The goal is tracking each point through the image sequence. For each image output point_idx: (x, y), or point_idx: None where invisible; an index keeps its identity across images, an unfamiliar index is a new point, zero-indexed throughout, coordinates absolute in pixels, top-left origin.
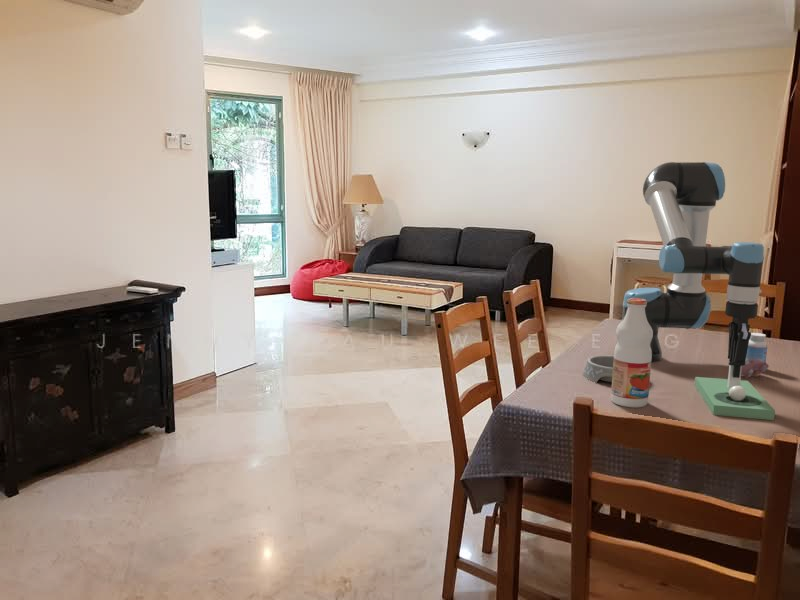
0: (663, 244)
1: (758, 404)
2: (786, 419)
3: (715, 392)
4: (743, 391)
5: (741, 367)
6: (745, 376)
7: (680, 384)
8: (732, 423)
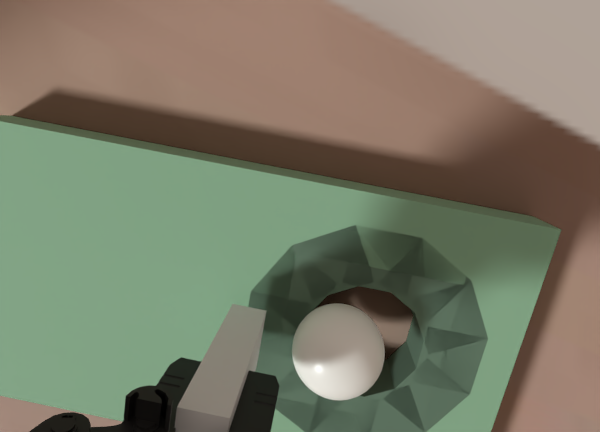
0: None
1: (451, 272)
2: (521, 142)
3: None
4: (376, 347)
5: (233, 408)
6: None
7: (13, 418)
8: (570, 424)
